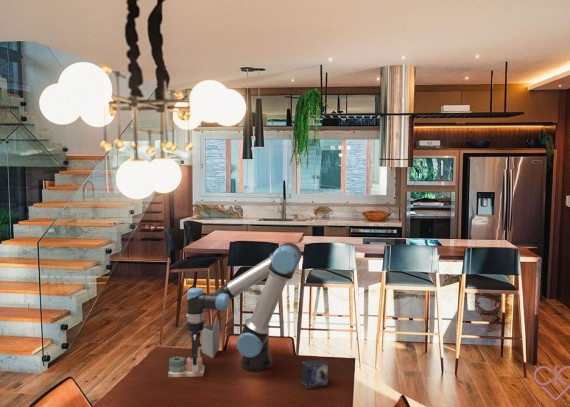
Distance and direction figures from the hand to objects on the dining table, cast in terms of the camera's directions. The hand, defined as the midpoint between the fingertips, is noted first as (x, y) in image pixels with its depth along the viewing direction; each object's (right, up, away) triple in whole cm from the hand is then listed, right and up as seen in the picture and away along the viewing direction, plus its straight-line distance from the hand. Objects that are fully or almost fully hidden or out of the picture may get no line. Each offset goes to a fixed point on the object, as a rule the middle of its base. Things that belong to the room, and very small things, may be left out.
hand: (196, 365), depth 245 cm
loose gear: (-1, -2, 0) cm, 2 cm away
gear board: (-4, -3, 0) cm, 5 cm away
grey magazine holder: (+2, -2, +28) cm, 28 cm away
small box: (+55, -5, -13) cm, 57 cm away
